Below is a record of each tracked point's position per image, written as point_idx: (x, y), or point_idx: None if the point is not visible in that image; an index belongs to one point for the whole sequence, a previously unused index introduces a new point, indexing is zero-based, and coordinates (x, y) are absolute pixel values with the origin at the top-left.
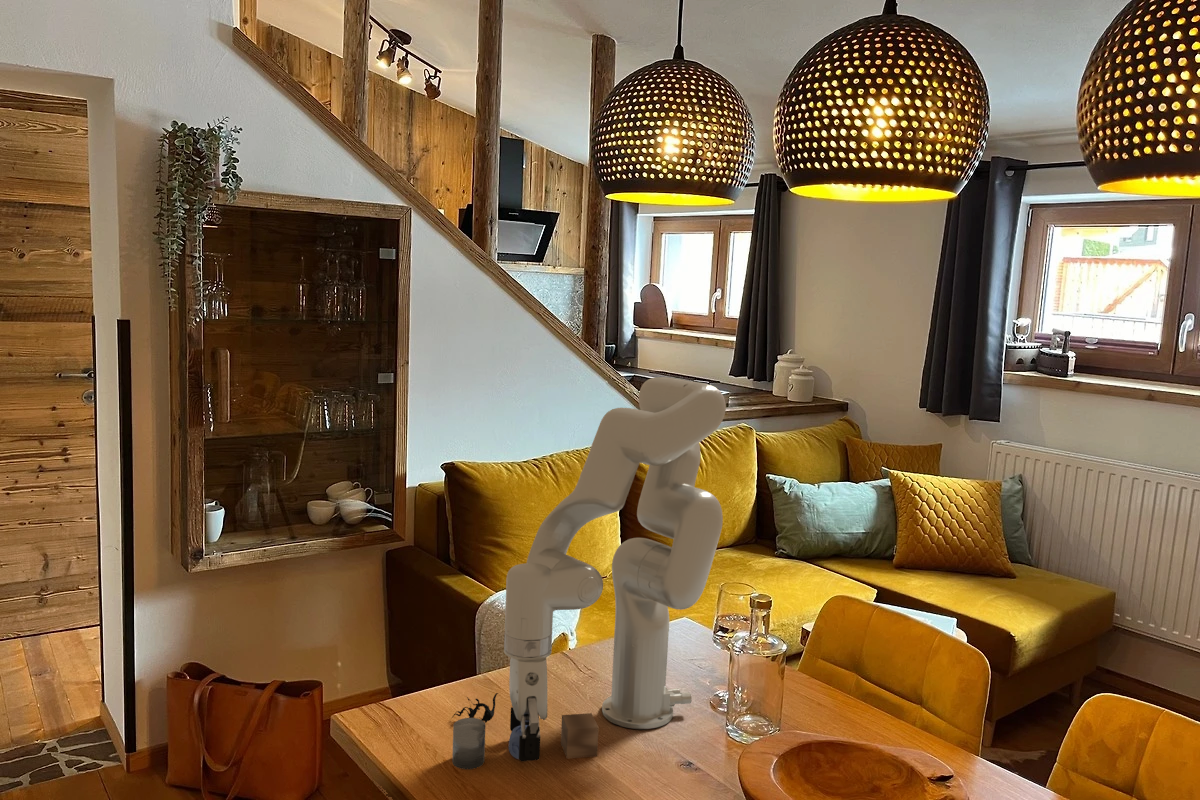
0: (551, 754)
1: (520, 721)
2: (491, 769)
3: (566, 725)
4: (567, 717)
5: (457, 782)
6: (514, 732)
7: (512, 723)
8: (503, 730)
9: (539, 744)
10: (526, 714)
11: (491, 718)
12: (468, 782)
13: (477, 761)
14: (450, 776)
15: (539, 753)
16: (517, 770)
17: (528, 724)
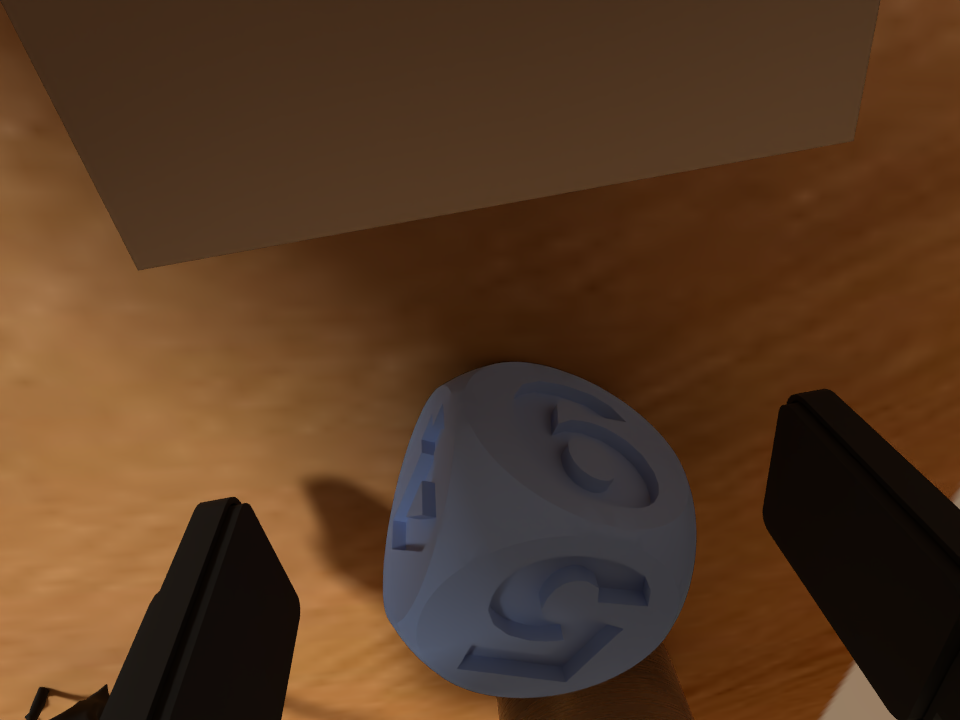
0: (530, 235)
1: (255, 642)
2: (693, 586)
3: (668, 171)
4: (236, 133)
5: (780, 680)
6: (580, 685)
7: (288, 673)
8: (156, 589)
9: (941, 499)
10: (205, 684)
11: (96, 715)
12: (796, 648)
13: (674, 677)
14: (717, 706)
15: (864, 423)
16: (742, 467)
17: (232, 551)
